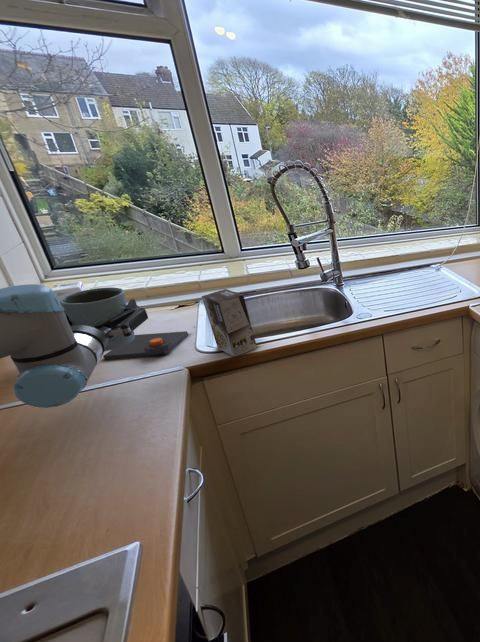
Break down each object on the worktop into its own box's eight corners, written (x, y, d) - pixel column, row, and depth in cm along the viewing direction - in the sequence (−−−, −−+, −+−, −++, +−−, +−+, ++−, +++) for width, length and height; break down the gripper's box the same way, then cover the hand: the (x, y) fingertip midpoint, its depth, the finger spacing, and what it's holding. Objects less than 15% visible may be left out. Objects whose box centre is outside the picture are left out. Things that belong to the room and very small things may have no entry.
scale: (101, 363, 105) (97, 353, 104) (133, 339, 117) (129, 330, 116) (166, 357, 108) (163, 347, 107) (191, 335, 120) (188, 326, 119)
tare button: (149, 347, 108) (147, 342, 107) (154, 343, 110) (152, 338, 110) (160, 346, 108) (158, 341, 108) (165, 342, 111) (163, 337, 110)
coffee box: (258, 347, 114) (244, 294, 108) (234, 357, 109) (218, 302, 103) (240, 339, 118) (226, 288, 112) (216, 348, 113) (200, 295, 107)
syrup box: (100, 324, 126) (81, 280, 120) (98, 331, 121) (79, 285, 116) (74, 329, 122) (53, 284, 117) (71, 336, 118) (50, 290, 112)
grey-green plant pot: (83, 341, 94) (62, 293, 89) (140, 329, 100) (123, 283, 95) (79, 358, 87) (56, 307, 82) (141, 344, 93) (123, 296, 88)
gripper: (-1, 383, 73) (45, 333, 90) (157, 352, 84) (170, 313, 101) (-22, 347, 70) (29, 303, 87) (144, 319, 81) (161, 285, 98)
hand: (105, 308), depth 94 cm, fingers closed on grey-green plant pot, 10 cm apart
